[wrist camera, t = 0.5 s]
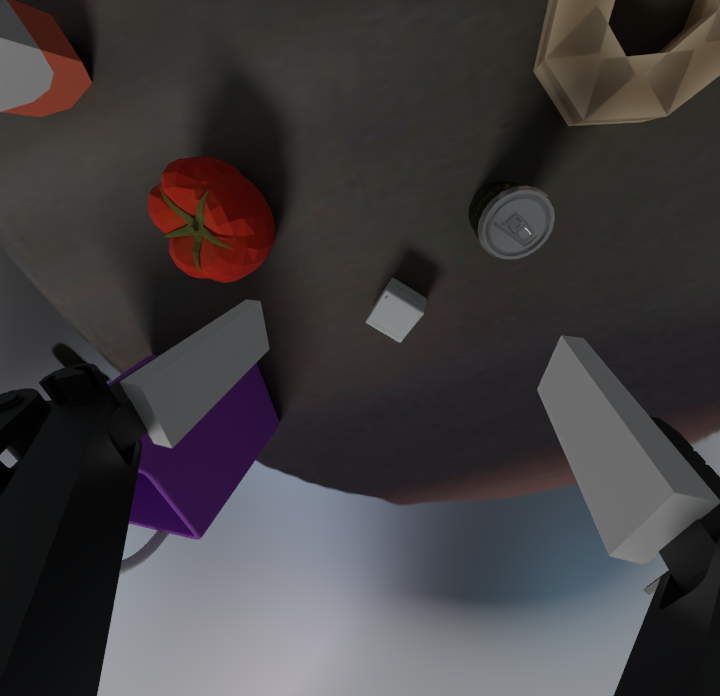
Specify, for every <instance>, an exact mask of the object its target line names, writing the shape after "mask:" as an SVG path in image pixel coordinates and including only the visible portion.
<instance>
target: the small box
mask: <svg viewBox="0 0 720 696" xmlns="http://www.w3.org/2000/svg"><path fill="white" fill-rule="evenodd" d="M425 304H426V298H425V297H424V296H422V295H421V294H419V293H417V292H416V291H414V290H413V289H411V288H409V287H408V286H406V285H405V284H403V283H401V282H400V281H398V280H396V279H395V278H393V277H392V279H391V280H390V281H389V283H388V284H387V286H386V287H385V289H384V291H383V292H382V294H381V295H380V297H379V298H378V300H377V302H376V303H375V305H374V306H373V308H372V310H371V312H370V314H369V316H368V318H367V320H366V323H367V324H369V325H371V326H372V327H374V328H376V329H377V330H379V331H381V332H382V333H384V334H386V335H387V336H389V337H391V338H392V339H394V340H396V341H397V342H399V343H401V341H402V340H403V339H404V338H405V336H406V335H407V334H408V333H409V331H410V330H411V329H412V328H413V327H414V325H415V324H416V323H417V322H418V321H419V319H420V318H421V317H422V316H423V315H424V312H425Z"/></svg>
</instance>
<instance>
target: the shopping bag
mask: <svg viewBox="0 0 720 696" xmlns="http://www.w3.org/2000/svg"><path fill="white" fill-rule="evenodd" d="M156 356H157V355H151V356H148V357H147V358H145V359H144V360H142V361H141V362H139V363H138V364H136V365H135V366H133V367H132V368H130V369H129V370H127V371H126V372H125V373H123V374H122V375H120V376H119V377H117V378H116V379H115V380H113V381H112V382H110V383H109V384H108V386H110V385H112V384H114V383H115V382H117V381H118V380H120V379H121V378H123V377H124V376H126V375H128V374H129V373H131V372H132V371H134V370H135V369H137V368H138V367H140V366H142V365H143V364H144V365H145V364H146V362H148V361H149V360H151V359H152V358H154V359H155V357H156ZM278 426H279V420H278V417H277V414H276V412H275V409H274V406H273V404H272V401H271V398H270V396H269V393H268V391H267V388H266V385H265V383H264V380H263V377H262V375H261V372H260V369H259V367H258V365H257V362H256V363H255V364H254V365H253V366H252V368H251V369H250V370H249V371H248V372H247V373H246V374H245V375H244V376H243V377H242V378H241V379H240V380H239V381H238V382H237V383H236V384H235V385H234V386H233V387H232V388H231V389H230V390H229V391H228V392H227V393H226V394H225V395H224V396H223V397H222V398H221V399H220V400H219V401H218V402H217V403H216V404H215V405H214V406H213V407H212V408H211V409H210V410H209V411H208V412H207V414H206V415H205V416H204V417H203V418H202V419H201V420H200V421H199V422H198V423H197V424H196V425H195V426H194V427H193V428H192V429H191V430H190V431H189V432H188V433H187V434H186V435H185V436H184V437H183V438H182V439H181V440H180V441H179V442H178V443H177V444H176V445H175V446H174V447H173V448H169V447H165V446H161V445H157V444H154V443H153V441H152V439H151V438H150V436H149V434H148V432H147V433H145V434H144V435H143V436H142V437H141V438H140V440H141V442H142V446H143V448H142V453H141V459H140V464H139V470H138V475H137V481H136V486H135V491H134V497H133V502H132V508H131V513H130V519H129V523H130V524H134V525H138V526H142V527H146V528H150V529H154V530H158V531H157V532H156V534H154V536H153V537H152V538H151V539H150V540H149V542H148V543H147V544H146V545H145V546H144V547H143V548H142V549H140V550H139V551H138V552H137V553H135V554H134V555H133V556H131V557H129V558H127V559H125V560H122V562H121V568H120V573H119V574H122V573H125V572H127V571H129V570H131V569H133V568H135V567H136V566H138V565H139V564H141V563H142V562H143V561H145V560H146V559H147V558H148V557H149V556H150V555H151V554H152V553H153V552H154V551H155V550H156V549H157V548H158V547H159V546H160V544H161V543H162V542H163V541H164V539H165V538H166V537H167V535H168V534H169V533H171V534H175V535H180V536H183V537H187V538H191V539H200V538H201V537H202V536H203V535H204V533H205V532H206V530H207V529H208V527H209V526H210V525H211V523H212V522H213V520H214V519H215V517H216V516H217V514H218V513H219V512H220V510H221V509H222V507H223V506H224V504H225V503H226V502H227V500H228V499H229V497H230V496H231V494H232V493H233V491H234V490H235V489H236V487H237V486H238V484H239V483H240V481H241V480H242V478H243V477H244V475H245V474H246V473H247V471H248V470H249V468H250V467H251V465H252V464H253V463H254V461H255V460H256V458H257V457H258V455H259V454H260V453H261V451H262V450H263V448H264V447H265V445H266V444H267V442H268V441H269V440H270V438H271V437H272V435H273V434H274V432H275V431H276V429H277V428H278ZM15 464H16V463H15ZM15 464H14V465H15Z"/></svg>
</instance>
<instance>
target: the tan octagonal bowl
mask: <svg viewBox="0 0 720 696" xmlns="http://www.w3.org/2000/svg"><path fill="white" fill-rule="evenodd" d="M614 2H615V0H549V1H548V6H547V10H546V15H545V20H544V24H543V29H542V33H541V38H540V43H539V47H538V52H537V57H536V61H535V66H534V70H533V72H534V73H535V75H536V77H537V78H538V80H539V81H540V83H541V84H542V86H543V87H544V89H545V91H546V92H547V94H548V95H549V97H550V98H551V100H552V101H553V103H554V104H555V106H556V108H557V109H558V111H559V112H560V114H561V115H562V117H563V118H564V120H565V122H566V123H567V125H568V126H582V125H600V124H617V123H634V122H644V121H648V120H653V119H657V118H661V117H665V116H668V115H669V114H670V113H672V112H673V111H674V110H676V109H677V108H678V107H679V106H681V105H682V104H683V103H685V102H686V101H687V100H688V99H690V98H691V97H692V96H694V95H695V94H696V93H698V92H699V91H700V90H701V89H703V88H704V87H705V86H707V85H708V84H709V83H710V82H712V81H713V80H714V79H716V78H717V77H718V76H719V75H720V0H695V1H694V3H693V6H692V8H691V11H690V13H689V16H688V18H687V21H686V23H685V26H684V29H683V31H682V32H681V33H679V34H678V35H677V36H676V37H675V38H674V39H673V40H672V41H670V42H669V43H668V44H667V45H666V46H665V47H664V48H662V49H661V50H660V51H659V52H658V53H657V54H648V55H638V56H628V57H626V55H625V53H624V51H623V50H622V48H621V46H620V44H619V42H618V41H617V39H616V37H615V35H614V33H613V32H612V30H611V28H610V26H609V25H608V23H609V19H610V16H611V12H612V9H613V6H614Z"/></svg>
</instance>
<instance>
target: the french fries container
mask: <svg viewBox="0 0 720 696" xmlns="http://www.w3.org/2000/svg"><path fill="white" fill-rule="evenodd" d="M91 84H92V81H91V79H90V77H89V75H88V73H87V71H86V69H85V67H84V65H83V63H82V61H81V60H80V58H79V57H78V55H77V54H76V52H75V51H74V49H73V47H72V46H71V44H70V43H69V41H68V40H67V38H66V37H65V35H64V34H63V32H62V30H61V29H60V27H59V26H58V24H57V23H56V21H55V20H54V18H53V17H52V15H51V14H49V13H46V12H44V11H41V10H39V9H36V8H34V7H31V6H29V5H26V4H24V3H21V2H19V1H16V0H0V112H5V113H13V114H21V115H28V116H36V117H42V116H46V115H49V114H53V113H56V112H60V111H63V110H67V109H70V108H72V107H73V105H74V104H75V103H76V102H77V101H78V99H79V98H80V97H81V96H82V94H83V93H84V92H85V91H86V90H87V88H88V87H89V86H90V85H91Z"/></svg>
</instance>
